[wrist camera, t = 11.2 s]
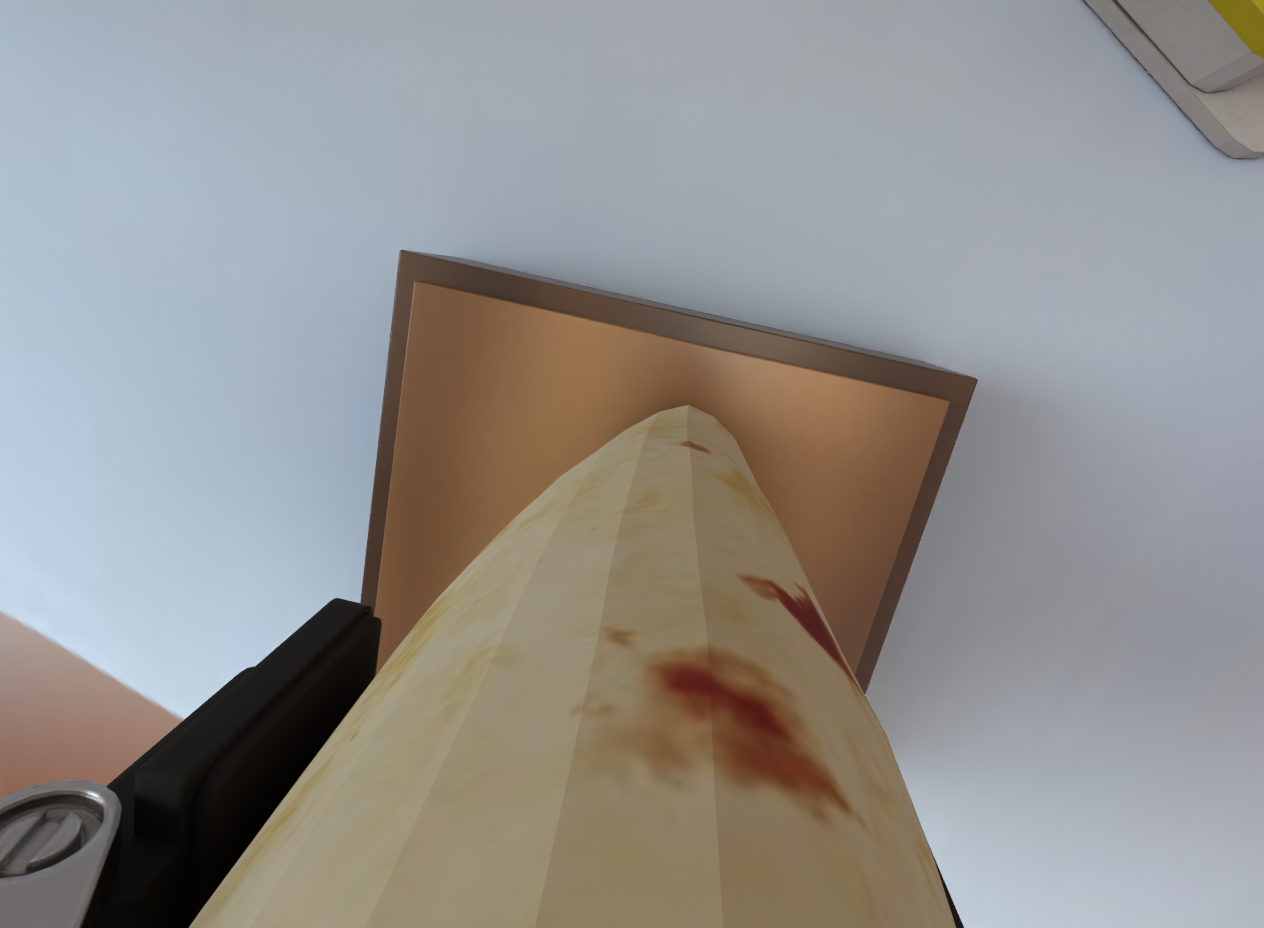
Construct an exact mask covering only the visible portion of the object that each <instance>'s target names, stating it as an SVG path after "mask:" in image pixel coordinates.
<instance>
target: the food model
mask: <svg viewBox="0 0 1264 928" xmlns="http://www.w3.org/2000/svg"><path fill="white" fill-rule="evenodd" d="M189 928H956V926H955V923H954V919H953V916H952V913H951V910H950V907H949V904H948V901H947V898H946V895H945V891H944V888H943V885H942V882H941V879H940V876H939V873H938V870H937V867H936V863H935V860H934V858H933V855H932V853H931V850H930V847H929V845H928V842H927V840H926V837H925V834H924V832H923V829H922V827H921V824H920V821H919V819H918V816H917V814H916V811H915V808H914V806H913V803H912V801H911V798H910V795H909V793H908V790H907V788H906V785H905V782H904V780H903V777H902V775H901V772H900V770H899V767H898V764H897V762H896V759H895V757H894V754H893V751H892V749H891V746H890V744H889V741H888V738H887V736H886V734H885V732H884V730H883V728H882V726H881V724H880V722H879V720H878V719H877V717H876V715H875V713H874V711H873V709H872V707H871V706H870V704H869V702H868V700H867V698H866V696H865V694H864V693H863V691H862V689H861V687H860V685H859V683H858V681H857V679H856V678H855V676H854V674H853V672H852V670H851V668H850V666H849V665H848V663H847V661H846V659H845V657H844V655H843V653H842V651H841V649H840V647H839V645H838V643H837V641H836V639H835V637H834V635H833V632H832V630H831V628H830V626H829V624H828V622H827V620H826V618H825V616H824V614H823V611H822V609H821V607H820V605H819V603H818V601H817V599H816V597H815V595H814V592H813V590H812V588H811V586H810V584H809V582H808V580H807V578H806V575H805V573H804V571H803V569H802V567H801V565H800V563H799V560H798V558H797V556H796V554H795V552H794V550H793V548H792V546H791V544H790V542H789V540H788V538H787V536H786V534H785V532H784V530H783V528H782V526H781V524H780V523H779V521H778V519H777V517H776V515H775V513H774V511H773V509H772V507H771V505H770V503H769V502H768V500H767V499H766V497H765V496H764V494H763V493H762V491H761V490H760V488H759V486H758V484H757V482H756V480H755V478H754V476H753V474H752V472H751V470H750V468H749V466H748V464H747V462H746V460H745V458H744V456H743V454H742V452H741V450H740V448H739V445H738V443H737V441H736V440H735V438H734V437H733V436H732V435H731V434H730V433H729V432H728V431H727V430H726V429H725V428H724V427H723V426H722V425H721V424H720V422H719V421H718V420H717V419H716V418H715V417H714V416H712V415H710V414H708V413H705V412H703V411H701V410H699V409H697V408H694V407H692V406H690V405H686V406H681V407H677V408H673V409H669V410H664V411H660V412H658V413H656V414H654V415H652V416H650V417H649V418H647V419H645V420H643V421H641V422H639V423H637V424H635V425H634V426H632V427H630V428H628V429H626V430H625V431H623V432H622V433H621V434H619V435H618V436H616V437H615V438H614V439H612V440H611V441H609V442H608V443H607V444H605V445H604V446H603V447H601V448H600V449H598V450H597V451H596V452H594V453H593V454H592V455H590V456H589V457H587V458H586V459H585V460H583V461H582V462H580V463H579V464H578V465H576V466H575V467H573V468H572V469H570V470H569V471H568V472H566V473H565V474H563V475H562V476H560V477H559V478H558V479H557V480H556V481H555V482H554V483H553V484H552V485H550V486H549V487H548V488H547V489H546V490H545V491H544V492H543V493H542V494H540V495H539V496H538V497H537V498H536V499H535V500H534V501H533V502H532V503H530V504H529V505H528V506H527V507H526V508H525V509H524V510H523V511H522V512H521V513H519V514H518V515H517V516H516V517H515V518H514V519H513V520H512V521H511V522H510V523H509V524H508V525H507V526H506V527H505V528H504V529H503V530H502V531H501V532H500V533H499V534H498V535H497V536H496V537H495V538H494V539H493V540H492V541H491V542H490V543H489V544H488V545H487V546H486V547H485V548H484V549H483V550H482V552H481V553H480V554H479V555H478V556H477V557H476V558H475V559H474V560H473V561H472V562H471V563H470V564H469V565H468V566H467V567H466V569H465V570H464V571H463V572H462V573H461V574H460V575H459V576H458V577H457V578H456V579H455V580H454V581H453V582H452V583H451V584H450V585H449V587H448V588H447V589H446V590H445V591H444V592H443V593H442V594H441V595H440V596H439V597H438V598H437V599H436V600H435V602H434V603H433V604H432V605H431V607H430V608H429V609H428V610H427V611H426V613H425V614H424V615H423V616H422V618H421V619H420V620H419V621H418V623H417V624H416V625H415V626H414V627H413V629H412V630H411V631H410V632H409V634H408V635H407V636H406V637H405V639H404V640H403V641H402V642H401V643H400V645H399V646H398V647H397V648H396V650H395V651H394V652H393V654H392V655H391V656H390V658H389V659H388V660H387V662H386V663H385V664H384V666H383V667H382V668H381V670H380V671H379V672H378V674H377V675H376V676H375V678H374V679H373V680H372V682H371V683H370V684H369V686H368V687H367V688H366V690H365V691H364V692H363V694H362V695H361V696H360V697H359V699H358V700H357V701H356V703H355V704H354V705H353V707H352V708H351V709H350V711H349V712H348V713H347V715H346V716H345V717H344V719H343V720H342V721H341V723H340V724H339V725H338V727H337V728H336V729H335V731H334V732H333V733H332V735H331V736H330V737H329V739H328V740H327V741H326V743H325V744H324V745H323V747H322V748H321V749H320V751H319V752H318V753H317V755H316V756H315V757H314V759H313V760H312V761H311V763H310V764H309V765H308V767H307V768H306V769H305V771H304V772H303V773H302V775H301V776H300V777H299V779H298V780H297V781H296V783H295V784H294V785H293V787H292V788H291V789H290V791H289V792H288V793H287V795H286V796H285V797H284V799H283V800H282V802H281V803H280V804H279V806H278V807H277V808H276V810H275V811H274V812H273V814H272V815H271V816H270V818H269V819H268V820H267V822H266V823H265V824H264V826H263V827H262V829H261V830H260V831H259V833H258V834H257V835H256V837H255V838H254V839H253V841H252V842H251V843H250V845H249V846H248V847H247V849H246V850H245V852H244V853H243V854H242V856H241V857H240V858H239V860H238V861H237V862H236V864H235V865H234V866H233V868H232V869H231V870H230V872H229V873H228V875H227V876H226V877H225V879H224V880H223V881H222V883H221V884H220V885H219V887H218V888H217V889H216V891H215V892H214V893H213V895H212V896H211V897H210V899H209V900H208V902H207V903H206V904H205V906H204V907H203V908H202V910H201V911H200V913H199V914H198V915H197V917H196V918H195V920H194V921H193V922H192V924H191V925H190V927H189Z"/></svg>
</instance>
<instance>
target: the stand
mask: <svg viewBox="0 0 1264 928" xmlns="http://www.w3.org/2000/svg"><path fill="white" fill-rule="evenodd" d="M976 384H977V379H976V378H974V377H970V376H967V375H964V374H961V373H958V372H955V371H951V370H948V369H945V368H942V367H939V366H936V365H932V364H929V363H926V362H922V361H917V360H913V359H909V358H904V357H900V356H895V355H891V354H886V353H882V352H877V351H873V350H868V349H864V348H859V347H855V346H850V345H846V344H841V343H837V342H832V341H828V340H823V339H819V338H815V337H810V336H806V335H801V334H797V333H792V332H788V331H783V330H779V329H774V328H770V327H765V326H761V325H756V324H752V323H747V322H743V321H738V320H734V319H729V318H725V317H720V316H716V315H712V314H707V313H703V312H698V311H694V310H689V309H685V308H680V307H676V306H671V305H667V304H662V303H658V302H653V301H649V300H644V299H640V298H635V297H631V296H626V295H622V294H618V293H613V292H609V291H604V290H600V289H595V288H591V287H586V286H582V285H577V284H573V283H568V282H564V281H559V280H555V279H550V278H546V277H541V276H537V275H532V274H528V273H524V272H519V271H515V270H510V269H506V268H501V267H497V266H492V265H488V264H483V263H479V262H474V261H470V260H465V259H461V258H456V257H451V256H444V255H436V254H429V253H421V252H414V251H406V250H400V255H399V263H398V272H397V281H396V290H395V299H394V308H393V317H392V326H391V335H390V344H389V353H388V362H387V371H386V380H385V388H384V397H383V406H382V415H381V424H380V433H379V442H378V451H377V460H376V469H375V478H374V487H373V496H372V505H371V514H370V522H369V531H368V540H367V549H366V558H365V567H364V576H363V585H362V594H361V603H360V604H364V605H368V606H371V608H372V610H373V616H374V617H378V618H380V619H381V622H382V627H381V635H380V643H379V651H378V659H377V667H376V675H377V674H378V672H379V671H380V670H381V668H382V667H383V666H384V664H385V663H386V662H387V660H388V659H389V658H390V656H391V655H392V654H393V652H394V651H395V650H396V648H397V647H398V646H399V645H400V643H401V642H402V641H403V640H404V639H405V637H406V636H407V635H408V634H409V632H410V631H411V630H412V629H413V627H414V626H415V625H416V624H417V623H418V621H419V620H420V619H421V618H422V616H423V615H424V614H425V613H426V611H427V610H428V609H429V608H430V607H431V605H432V604H433V603H434V602H435V600H436V599H437V598H438V597H439V596H440V595H441V594H442V593H443V592H444V591H445V590H446V589H447V588H448V587H449V585H450V584H451V583H452V582H453V581H454V580H455V579H456V578H457V577H458V576H459V575H460V574H461V573H462V572H463V571H464V570H465V569H466V567H467V566H468V565H469V564H470V563H471V562H472V561H473V560H474V559H475V558H476V557H477V556H478V555H479V554H480V553H481V552H482V550H483V549H484V548H485V547H486V546H487V545H488V544H489V543H490V542H491V541H492V540H493V539H494V538H495V537H496V536H497V535H498V534H499V533H500V532H501V531H502V530H503V529H504V528H505V527H506V526H507V525H508V524H509V523H510V522H511V521H512V520H513V519H514V518H515V517H516V516H517V515H518V514H519V513H521V512H522V511H523V510H524V509H525V508H526V507H527V506H528V505H529V504H530V503H532V502H533V501H534V500H535V499H536V498H537V497H538V496H539V495H540V494H542V493H543V492H544V491H545V490H546V489H547V488H548V487H549V486H550V485H552V484H553V483H554V482H555V481H556V480H557V479H558V478H559V477H560V476H562V475H563V474H565V473H566V472H568V471H569V470H570V469H572V468H573V467H575V466H576V465H578V464H579V463H580V462H582V461H583V460H585V459H586V458H587V457H589V456H590V455H592V454H593V453H594V452H596V451H597V450H598V449H600V448H601V447H603V446H604V445H605V444H607V443H608V442H609V441H611V440H612V439H614V438H615V437H616V436H618V435H619V434H621V433H622V432H623V431H625V430H626V429H628V428H630V427H632V426H634V425H635V424H637V423H639V422H641V421H643V420H645V419H647V418H649V417H650V416H652V415H654V414H656V413H658V412H660V411H664V410H669V409H673V408H677V407H681V406H686V405H690V406H692V407H694V408H697V409H699V410H701V411H703V412H705V413H708V414H710V415H712V416H714V417H715V418H716V419H717V420H718V421H719V422H720V424H721V425H722V426H723V427H724V428H725V429H726V430H727V431H728V432H729V433H730V434H731V435H732V436H733V437H734V438H735V440H736V441H737V443H738V445H739V448H740V450H741V452H742V454H743V456H744V458H745V460H746V462H747V464H748V466H749V468H750V470H751V472H752V474H753V476H754V478H755V480H756V482H757V484H758V486H759V488H760V490H761V491H762V493H763V494H764V496H765V497H766V499H767V500H768V502H769V503H770V505H771V507H772V509H773V511H774V513H775V515H776V517H777V519H778V521H779V523H780V524H781V526H782V528H783V530H784V532H785V534H786V536H787V538H788V540H789V542H790V544H791V546H792V548H793V550H794V552H795V554H796V556H797V558H798V560H799V563H800V565H801V567H802V569H803V571H804V573H805V575H806V578H807V580H808V582H809V584H810V586H811V588H812V590H813V592H814V595H815V597H816V599H817V601H818V603H819V605H820V607H821V609H822V611H823V614H824V616H825V618H826V620H827V622H828V624H829V626H830V628H831V630H832V632H833V635H834V637H835V639H836V641H837V643H838V645H839V647H840V649H841V651H842V653H843V655H844V657H845V659H846V661H847V663H848V665H849V666H850V668H851V670H852V672H853V674H854V676H855V678H856V679H857V681H858V683H859V685H860V687H861V689H862V691H863V693H864V694H865V693H866V690H867V688H868V685H869V682H870V679H871V676H872V674H873V671H874V668H875V665H876V662H877V660H878V657H879V654H880V651H881V649H882V646H883V643H884V640H885V637H886V635H887V632H888V629H889V626H890V623H891V621H892V618H893V615H894V612H895V609H896V607H897V604H898V601H899V598H900V596H901V593H902V590H903V587H904V584H905V582H906V579H907V576H908V573H909V570H910V568H911V565H912V562H913V559H914V557H915V554H916V551H917V548H918V545H919V543H920V540H921V537H922V534H923V531H924V529H925V526H926V523H927V520H928V517H929V515H930V512H931V509H932V506H933V504H934V501H935V498H936V495H937V492H938V490H939V487H940V484H941V481H942V478H943V476H944V473H945V470H946V467H947V465H948V462H949V459H950V456H951V453H952V451H953V448H954V445H955V442H956V439H957V437H958V434H959V431H960V428H961V425H962V423H963V420H964V417H965V414H966V412H967V409H968V406H969V403H970V400H971V398H972V395H973V392H974V389H975V386H976ZM376 675H375V676H376Z"/></svg>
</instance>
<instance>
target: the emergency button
mask: <svg viewBox="0 0 1264 928" xmlns="http://www.w3.org/2000/svg"><path fill="white" fill-rule="evenodd" d="M1085 1H1086V2H1087V3H1088V5H1089V6H1090V7H1091V8H1092V9H1093V10H1094V11H1095V12H1096V14H1097V15H1098V16H1099V17H1100V18H1101V19H1102V20H1103V21H1104V23H1105V24H1106V25H1107V26H1108V27H1109V28H1110V29H1111V30H1112V32H1113V33H1114V34H1115V35H1116V36H1117V37H1118V38H1119V39H1120V41H1121V42H1122V43H1123V44H1124V45H1125V46H1126V47H1127V48H1128V50H1129V51H1130V52H1131V53H1132V54H1133V55H1134V56H1135V57H1136V59H1137V60H1138V61H1139V62H1140V63H1141V64H1142V65H1143V66H1144V68H1145V69H1146V70H1147V71H1148V72H1149V73H1150V74H1151V75H1152V77H1153V78H1154V79H1155V80H1156V81H1157V82H1158V83H1159V84H1160V86H1161V87H1162V88H1163V89H1164V90H1165V91H1166V92H1167V93H1168V94H1169V96H1170V97H1171V98H1172V99H1173V100H1174V101H1175V102H1176V103H1177V105H1178V106H1179V107H1180V108H1181V109H1182V110H1183V111H1184V112H1185V114H1186V115H1187V116H1188V117H1189V118H1190V119H1191V120H1192V121H1193V123H1194V124H1195V125H1196V126H1197V127H1198V128H1199V129H1200V130H1201V132H1202V133H1203V134H1204V135H1205V136H1206V137H1207V138H1208V139H1209V141H1210V142H1211V143H1212V144H1213V145H1214V146H1215V147H1216V148H1218V149H1219V150H1221V151H1223V152H1224V153H1226V154H1227V155H1229V156H1231V157H1232V158H1259V157H1263V156H1264V0H1085Z"/></svg>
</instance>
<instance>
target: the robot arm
mask: <svg viewBox="0 0 1264 928" xmlns="http://www.w3.org/2000/svg"><path fill="white" fill-rule="evenodd" d="M381 627H382V622H381V619H380V618H378V617H374V616H373V610H372V608H371V606H368V605H364V604H360V603H356V602H352V601H347V600H343V599H339V598H335V599H333V600H332V601H330V602H329V603H328V604H327V605H326V606H324V607H323V608H322V609H321V610H320V611H319V612H318V613H316V614H315V615H314V616H313V617H312V618H311V619H310V620H308V621H307V622H306V623H305V624H304V625H303V626H301V627H300V628H299V629H298V630H297V631H296V632H295V633H293V634H292V635H291V636H290V637H289V638H288V639H286V640H285V641H284V642H283V643H282V644H281V645H280V646H278V647H277V648H276V649H275V650H274V651H273V652H271V653H270V654H269V655H268V656H267V657H266V658H265V659H263V660H262V661H261V662H260V663H259V664H258V665H256V666H255V667H250V668H247V669H245V670H243V671H242V672H240V673H239V674H238V675H236V676H235V677H234V678H233V679H232V680H231V681H229V682H228V683H227V684H226V685H225V686H224V687H222V688H221V689H220V690H219V691H218V692H217V693H215V694H214V695H213V696H212V697H211V698H209V699H208V700H207V701H206V702H205V703H204V704H202V705H201V706H200V707H199V708H198V709H197V710H195V711H194V712H193V713H192V714H191V715H190V716H188V717H187V718H186V719H185V720H184V721H182V722H181V723H180V724H179V725H178V726H177V727H176V728H174V729H173V730H172V731H171V732H170V733H168V734H167V735H166V736H165V737H164V738H163V739H161V740H160V741H159V742H158V743H157V744H156V745H154V746H153V747H152V748H151V749H150V750H149V751H147V752H146V753H145V754H144V755H143V756H141V757H140V758H139V759H138V760H137V761H135V762H134V763H133V764H132V765H131V766H130V767H128V768H127V769H126V770H125V771H124V772H123V773H121V774H120V775H119V776H118V777H117V778H116V779H114V780H113V781H112V782H111V783H110V784H108V785H107V786H106V787H105V786H104V785H101V784H97V783H93V782H89V781H57V782H51V783H45V784H40V785H36V786H32V787H29V788H26V789H23V790H20V791H17V792H14V793H11V794H9V795H7V796H5V797H3V798H1V799H0V928H189V927H190V925H191V924H192V922H193V921H194V920H195V918H196V917H197V915H198V914H199V913H200V911H201V910H202V908H203V907H204V906H205V904H206V903H207V902H208V900H209V899H210V897H211V896H212V895H213V893H214V892H215V891H216V889H217V888H218V887H219V885H220V884H221V883H222V881H223V880H224V879H225V877H226V876H227V875H228V873H229V872H230V870H231V869H232V868H233V866H234V865H235V864H236V862H237V861H238V860H239V858H240V857H241V856H242V854H243V853H244V852H245V850H246V849H247V847H248V846H249V845H250V843H251V842H252V841H253V839H254V838H255V837H256V835H257V834H258V833H259V831H260V830H261V829H262V827H263V826H264V824H265V823H266V822H267V820H268V819H269V818H270V816H271V815H272V814H273V812H274V811H275V810H276V808H277V807H278V806H279V804H280V803H281V802H282V800H283V799H284V797H285V796H286V795H287V793H288V792H289V791H290V789H291V788H292V787H293V785H294V784H295V783H296V781H297V780H298V779H299V777H300V776H301V775H302V773H303V772H304V771H305V769H306V768H307V767H308V765H309V764H310V763H311V761H312V760H313V759H314V757H315V756H316V755H317V753H318V752H319V751H320V749H321V748H322V747H323V745H324V744H325V743H326V741H327V740H328V739H329V737H330V736H331V735H332V733H333V732H334V731H335V729H336V728H337V727H338V725H339V724H340V723H341V721H342V720H343V719H344V717H345V716H346V715H347V713H348V712H349V711H350V709H351V708H352V707H353V705H354V704H355V703H356V701H357V700H358V699H359V697H360V696H361V695H362V694H363V692H364V691H365V690H366V688H367V687H368V686H369V684H370V683H371V682H372V680H373V679H374V678H375V675H376V667H377V659H378V651H379V643H380V635H381ZM928 845H929V844H928ZM930 850H931V849H930ZM931 853H932V851H931ZM932 855H933V854H932ZM933 858H934V856H933ZM934 860H935V858H934ZM935 863H936V861H935ZM936 867H937V870H938V873H939V876H940V879H941V882H942V885H943V888H944V891H945V895H946V898H947V901H948V904H949V907H950V910H951V913H952V916H953V919H954V923H955V926H956V928H964V927H963V924H962V922H961V920H960V917H959V915H958V913H957V910H956V908H955V905H954V903H953V901H952V898H951V896H950V894H949V891H948V889H947V887H946V884H945V882H944V880H943V877H942V875H941V873H940V870H939V868H938V865H937V863H936Z"/></svg>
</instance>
